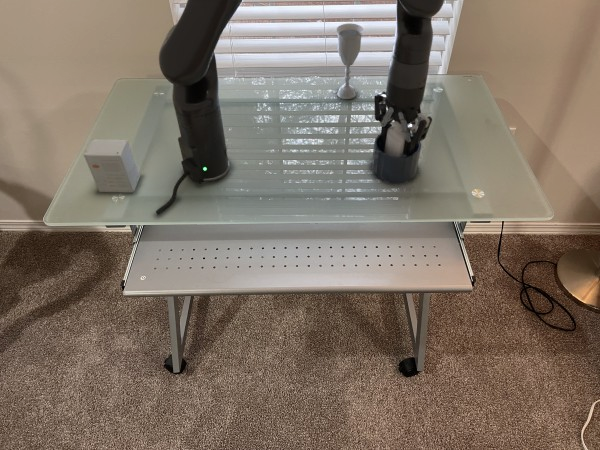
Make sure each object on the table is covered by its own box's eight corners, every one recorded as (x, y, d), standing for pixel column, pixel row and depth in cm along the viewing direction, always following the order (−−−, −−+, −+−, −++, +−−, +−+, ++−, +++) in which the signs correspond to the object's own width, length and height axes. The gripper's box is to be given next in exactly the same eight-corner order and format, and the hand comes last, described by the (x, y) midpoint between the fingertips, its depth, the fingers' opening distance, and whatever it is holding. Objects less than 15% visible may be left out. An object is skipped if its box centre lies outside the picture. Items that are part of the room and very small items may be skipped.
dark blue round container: (395, 189, 110) (399, 164, 105) (362, 167, 116) (364, 142, 111) (425, 169, 115) (430, 144, 110) (392, 149, 120) (395, 124, 115)
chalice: (357, 102, 135) (361, 37, 122) (332, 100, 136) (334, 35, 123) (360, 88, 140) (365, 24, 127) (336, 85, 141) (338, 22, 128)
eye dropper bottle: (385, 168, 112) (392, 123, 103) (383, 152, 116) (389, 107, 107) (405, 168, 112) (413, 123, 103) (402, 152, 116) (409, 107, 107)
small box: (141, 176, 115) (128, 139, 107) (133, 193, 111) (120, 155, 103) (106, 175, 115) (92, 138, 108) (98, 192, 111) (82, 154, 104)
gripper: (367, 69, 101) (361, 138, 113) (423, 99, 93) (410, 169, 105) (392, 57, 104) (383, 125, 116) (448, 84, 97) (433, 154, 109)
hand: (396, 146), depth 111 cm, fingers closed on eye dropper bottle, 5 cm apart
